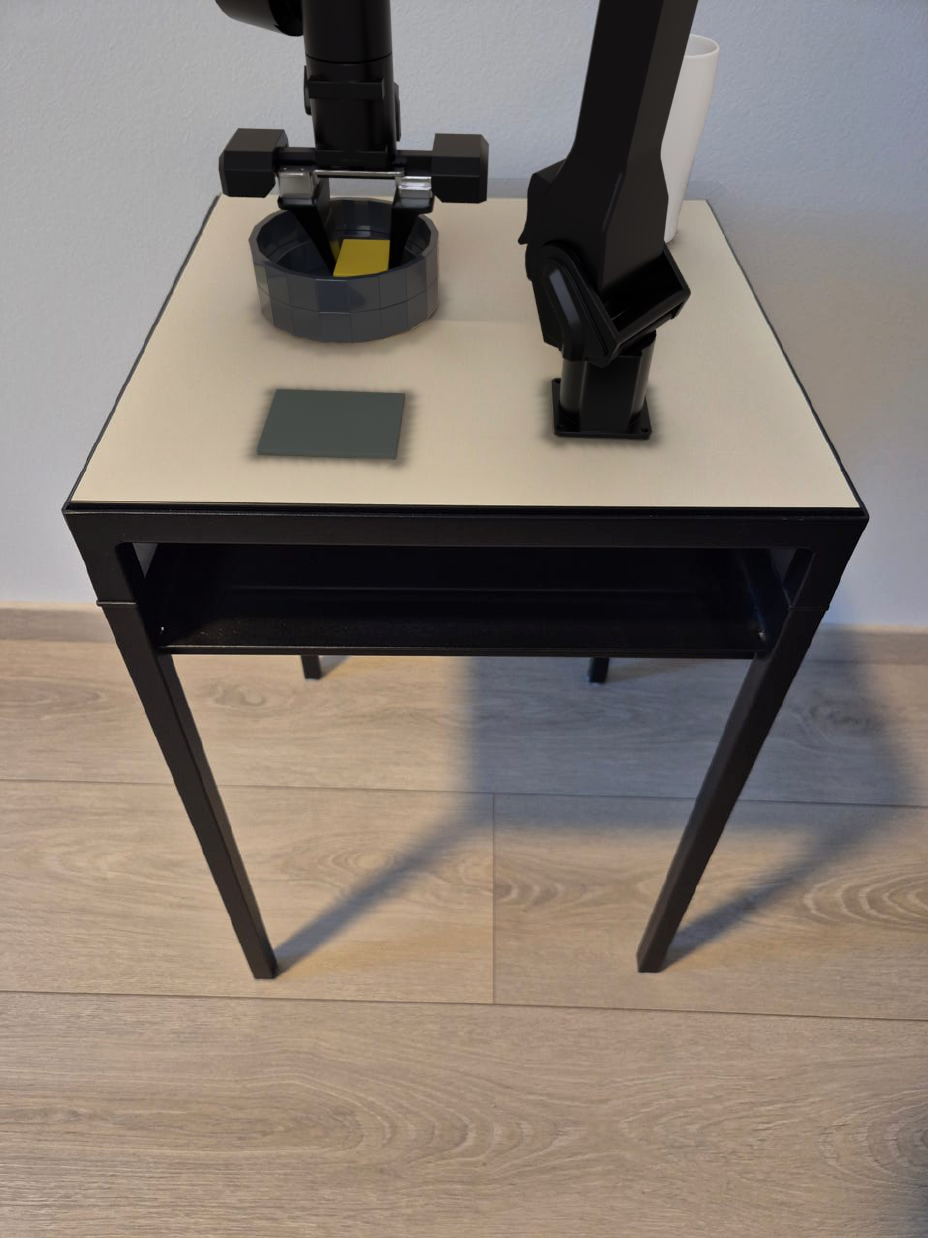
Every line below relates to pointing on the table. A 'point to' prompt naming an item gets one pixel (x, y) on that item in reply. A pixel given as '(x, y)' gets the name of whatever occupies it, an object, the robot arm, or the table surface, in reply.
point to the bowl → (344, 306)
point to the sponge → (362, 257)
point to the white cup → (687, 122)
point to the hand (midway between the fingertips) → (366, 280)
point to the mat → (333, 424)
